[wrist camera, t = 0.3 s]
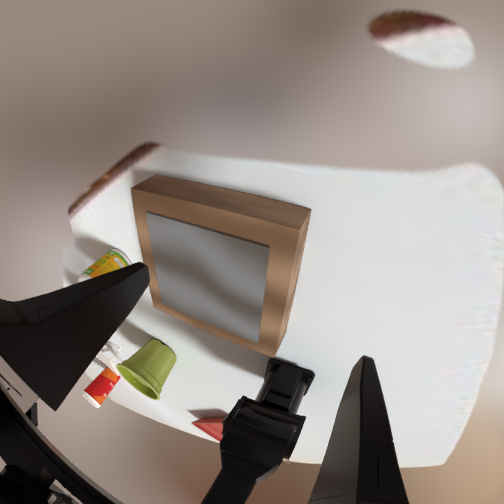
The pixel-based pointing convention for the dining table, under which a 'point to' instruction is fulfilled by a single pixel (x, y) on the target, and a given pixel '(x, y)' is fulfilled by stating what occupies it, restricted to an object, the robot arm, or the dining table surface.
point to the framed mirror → (221, 258)
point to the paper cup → (101, 387)
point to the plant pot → (148, 368)
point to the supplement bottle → (105, 265)
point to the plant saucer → (211, 426)
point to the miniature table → (107, 360)
